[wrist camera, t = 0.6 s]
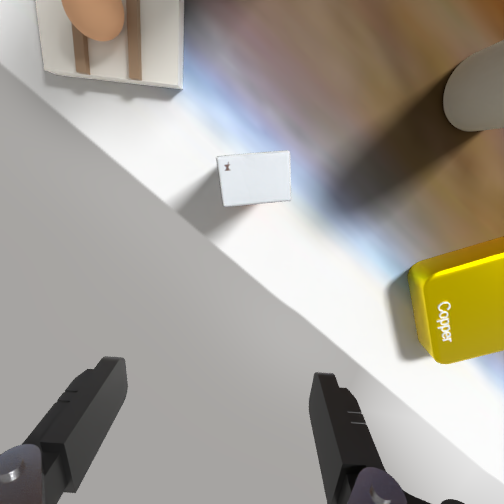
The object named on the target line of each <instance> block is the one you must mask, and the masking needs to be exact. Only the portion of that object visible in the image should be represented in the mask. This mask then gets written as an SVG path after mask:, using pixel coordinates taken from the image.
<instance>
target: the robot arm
mask: <svg viewBox="0 0 504 504" xmlns="http://www.w3.org/2000/svg"><path fill="white" fill-rule="evenodd" d="M127 387H128V384H127V375H126V365H125V359H124V358H119V357H103V358H102V359H101V360H100V362H99V363H98V364H97V366H96V367H95V368H94V369H87V370H86V371H84V372H83V373H82V374H80V375H79V376H78V377H76V378H75V379H74V380H73V381H72V383H71V384H70V385H69V387H68V388H67V389H66V390H65V393H63V394H62V395H61V396H60V398H59V399H58V401H57V403H55V404H54V405H53V406H52V408H51V409H50V410H49V411H48V413H47V414H46V415H45V416H44V418H43V419H42V420H41V422H40V423H39V424H38V425H37V426H36V428H35V429H34V430H33V431H32V433H31V434H30V435H29V436H28V438H27V439H26V440H25V441H24V443H23V444H22V445H19V446H16V447H13V448H11V449H9V450H7V451H5V452H4V453H2V454H1V455H0V504H57V502H58V501H59V499H60V497H61V495H62V494H63V492H70V493H76V491H77V489H78V488H79V486H80V484H81V482H82V480H83V478H84V476H85V474H86V472H87V470H88V469H89V467H90V465H91V463H92V461H93V459H94V457H95V455H96V454H97V452H98V449H99V448H100V446H101V444H102V442H103V440H104V438H105V437H106V435H107V432H108V431H109V429H110V427H111V425H112V423H113V421H114V419H115V418H116V416H117V414H118V412H119V410H120V408H121V406H122V404H123V402H124V400H125V397H126V394H127ZM309 414H310V420H311V425H312V430H313V435H314V439H315V444H316V449H317V454H318V459H319V464H320V469H321V474H322V479H323V484H324V489H325V494H326V498H327V504H430V503H428V502H426V501H423V500H421V499H418V498H416V497H414V496H412V495H410V494H408V493H406V492H405V491H403V490H402V488H401V487H400V485H399V484H398V483H397V482H396V481H395V479H394V478H392V476H390V475H389V474H388V473H387V472H386V471H385V469H384V466H383V464H382V462H381V459H380V457H379V454H378V452H377V449H376V447H375V444H374V442H373V439H372V437H371V434H370V432H369V429H368V427H367V425H366V422H365V420H364V417H363V415H362V414H361V410H360V407H359V405H358V402H357V400H356V398H355V397H354V396H353V395H352V394H351V393H350V391H349V390H348V389H347V388H339V386H338V383H337V380H336V377H335V375H334V374H333V373H318V372H316V373H315V374H314V378H313V383H312V388H311V393H310V398H309ZM441 504H464V503H462V502H460V501H457V500H453V499H448V500H445V501H443V502H442V503H441Z"/></svg>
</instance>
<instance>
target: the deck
mask: <svg viewBox="0 0 504 504" xmlns="http://www.w3.org/2000/svg"><path fill="white" fill-rule="evenodd" d="M121 1H122V4H123V8H124V25H123V28H122V30H121V32H120V33H119V35H118V36H117V37H115V38H114V39H112V40H109V41H97V40H93V39H91V38H89V37H87V36H85V35H84V34H82V33H81V32H80V31H79V30H78V29H77V28H76V27H75V26H74V25H73V24H72V22H71V21H70V20H69V18H68V16H67V15H66V12H65V10H64V8H63V5H62V1H61V0H35V3H36V10H37V18H38V26H39V34H40V42H41V49H42V57H43V65H44V70H46V71H48V72H51V73H53V74H56V75H61V76H69V77H78V78H87V79H95V80H104V81H113V82H121V83H130V84H139V85H147V86H156V87H165V88H174V89H182V90H183V45H184V0H121Z"/></svg>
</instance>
